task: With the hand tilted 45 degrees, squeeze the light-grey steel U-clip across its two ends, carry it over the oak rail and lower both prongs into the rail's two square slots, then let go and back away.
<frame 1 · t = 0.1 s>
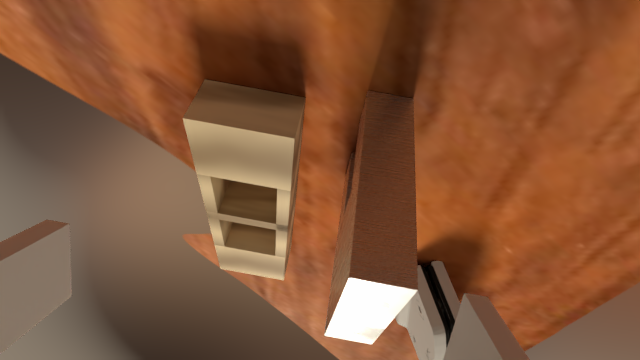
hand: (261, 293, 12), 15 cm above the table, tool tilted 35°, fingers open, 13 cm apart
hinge: (425, 288, 46), on the table
clip: (374, 142, 27), on the table
rail: (258, 185, 34), on the table
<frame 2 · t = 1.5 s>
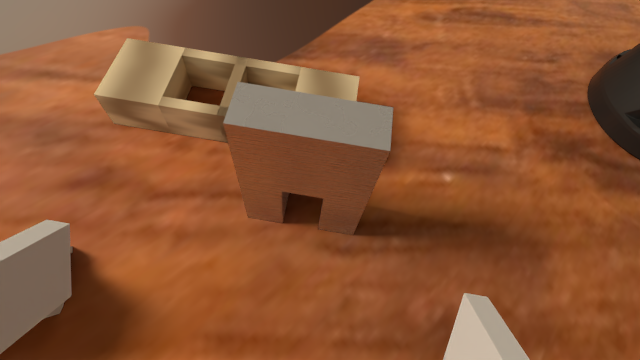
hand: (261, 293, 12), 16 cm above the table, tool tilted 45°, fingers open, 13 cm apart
clip: (303, 210, 31), on the table
rail: (238, 113, 36), on the table
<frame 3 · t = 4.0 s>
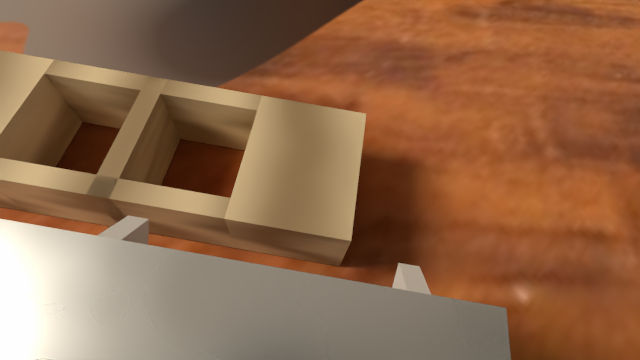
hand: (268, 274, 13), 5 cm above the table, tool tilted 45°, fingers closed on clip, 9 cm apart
rail: (156, 173, 21), on the table
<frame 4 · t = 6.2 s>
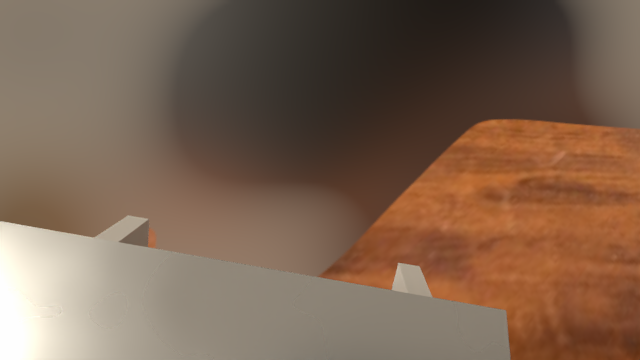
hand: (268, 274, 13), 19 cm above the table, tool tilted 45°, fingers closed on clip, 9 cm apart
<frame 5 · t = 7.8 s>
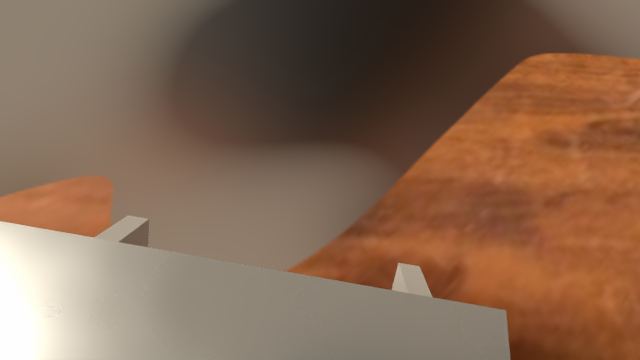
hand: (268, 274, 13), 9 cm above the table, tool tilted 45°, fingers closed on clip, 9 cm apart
when the fingers open (7 cm above the table, at t = 8.7 s): clip drops 2 cm, resting in rail.
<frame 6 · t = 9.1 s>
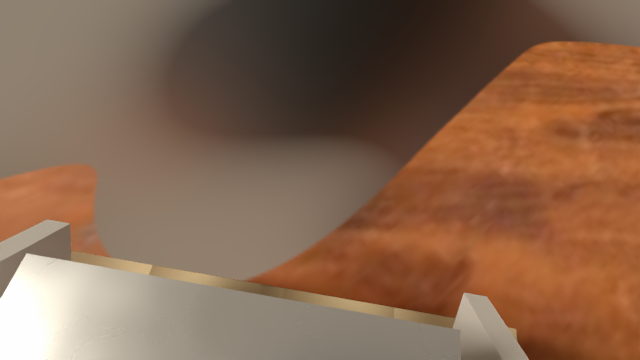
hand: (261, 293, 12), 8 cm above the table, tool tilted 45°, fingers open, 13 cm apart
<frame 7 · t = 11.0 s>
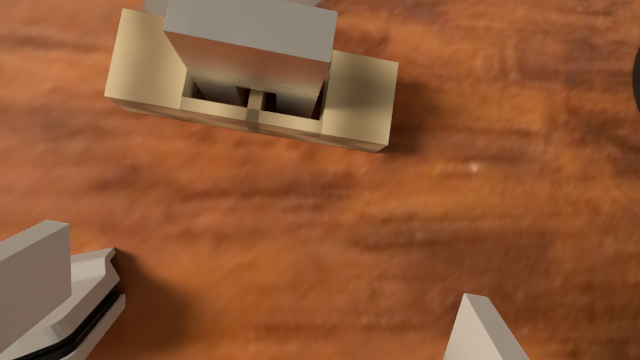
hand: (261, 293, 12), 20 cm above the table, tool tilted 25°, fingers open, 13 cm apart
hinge: (18, 314, 29), on the table
clip: (262, 95, 33), resting in rail
rail: (261, 94, 33), on the table
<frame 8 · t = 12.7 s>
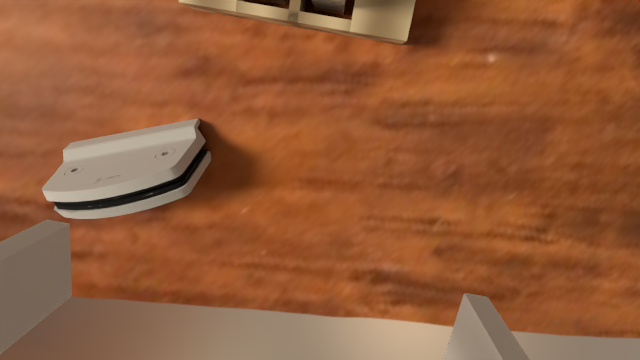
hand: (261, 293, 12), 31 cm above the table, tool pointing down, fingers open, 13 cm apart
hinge: (145, 161, 44), on the table
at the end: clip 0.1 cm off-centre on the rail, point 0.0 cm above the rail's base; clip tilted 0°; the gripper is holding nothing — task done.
